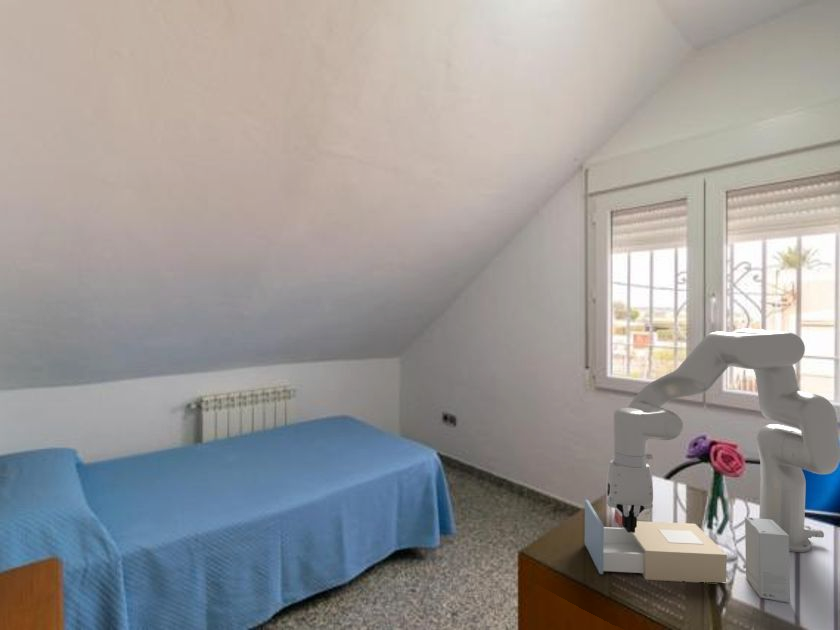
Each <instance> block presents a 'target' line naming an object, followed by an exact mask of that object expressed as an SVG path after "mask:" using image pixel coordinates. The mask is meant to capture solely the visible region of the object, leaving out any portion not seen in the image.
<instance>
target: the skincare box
mask: <svg viewBox="0 0 840 630" xmlns="http://www.w3.org/2000/svg"><path fill="white" fill-rule="evenodd" d="M744 528H745V529H744V532H745V534H744V535H745V539H744V541H745V578H746V579H747V581H748V582H749V584H750V585H751V586H752V588H753V590H754V591H755V592H756V593H757V595H758V596H759V597H760V598H761V599H767V600H768V599H769V600H771V601H772V600H773V601H777V602H781V603H782V602H783V603H789V604H790V603H791V577H790V576H791V573H790V567H791V566H790V551H789V535H788V534H787V533H786V532H785V531H783V530H782V529H781V528H780V527H779V526H778V525H777V524H776V523H775V522H774V521H773V520H770V519H760V518H759V517H748V516H747V517H744Z"/></svg>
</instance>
